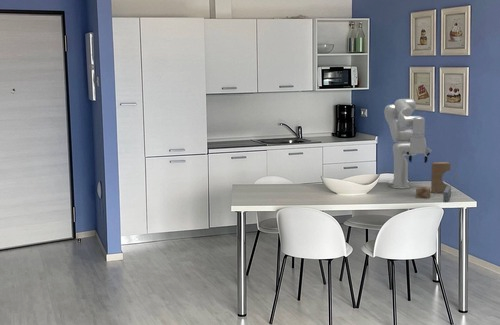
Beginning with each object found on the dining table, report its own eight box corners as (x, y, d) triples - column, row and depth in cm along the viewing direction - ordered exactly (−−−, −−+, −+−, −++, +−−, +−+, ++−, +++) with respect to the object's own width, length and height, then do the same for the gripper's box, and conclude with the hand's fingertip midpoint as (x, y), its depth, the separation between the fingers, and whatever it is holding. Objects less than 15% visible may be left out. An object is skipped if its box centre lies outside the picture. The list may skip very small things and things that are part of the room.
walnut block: (416, 198, 448) (416, 188, 447) (417, 195, 455) (417, 186, 455) (428, 198, 445) (429, 189, 444) (430, 196, 453) (430, 187, 452)
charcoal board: (443, 201, 434) (443, 192, 434) (446, 194, 457) (446, 185, 456) (447, 201, 434) (447, 192, 433) (450, 194, 456) (450, 185, 455)
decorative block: (446, 191, 468) (447, 161, 465) (449, 192, 463) (450, 163, 460) (430, 191, 467) (431, 162, 464) (433, 193, 461) (434, 163, 458)
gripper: (403, 136, 450) (403, 162, 453) (430, 137, 443) (430, 163, 445) (406, 135, 457) (406, 160, 459) (433, 135, 450) (432, 162, 452)
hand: (418, 162), depth 452 cm, fingers open, 9 cm apart
